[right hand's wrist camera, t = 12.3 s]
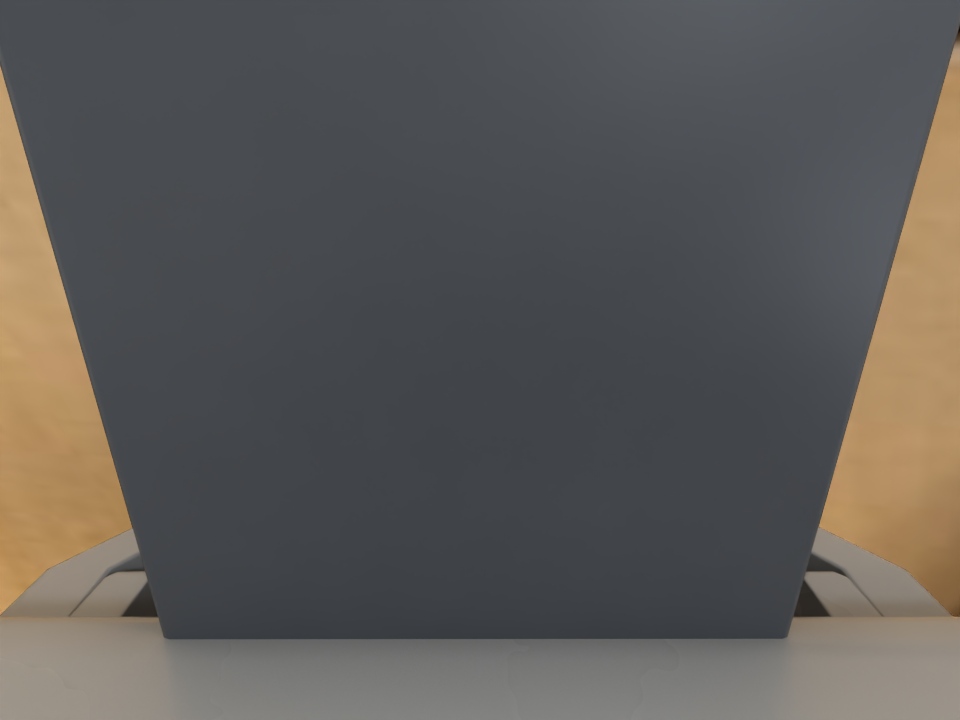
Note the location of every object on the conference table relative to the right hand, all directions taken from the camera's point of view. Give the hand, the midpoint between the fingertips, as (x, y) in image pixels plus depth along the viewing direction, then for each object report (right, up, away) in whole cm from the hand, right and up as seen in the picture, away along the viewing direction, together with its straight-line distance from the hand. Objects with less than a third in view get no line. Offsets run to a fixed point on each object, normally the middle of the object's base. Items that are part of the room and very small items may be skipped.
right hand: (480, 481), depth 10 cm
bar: (0, +8, 0) cm, 8 cm away
